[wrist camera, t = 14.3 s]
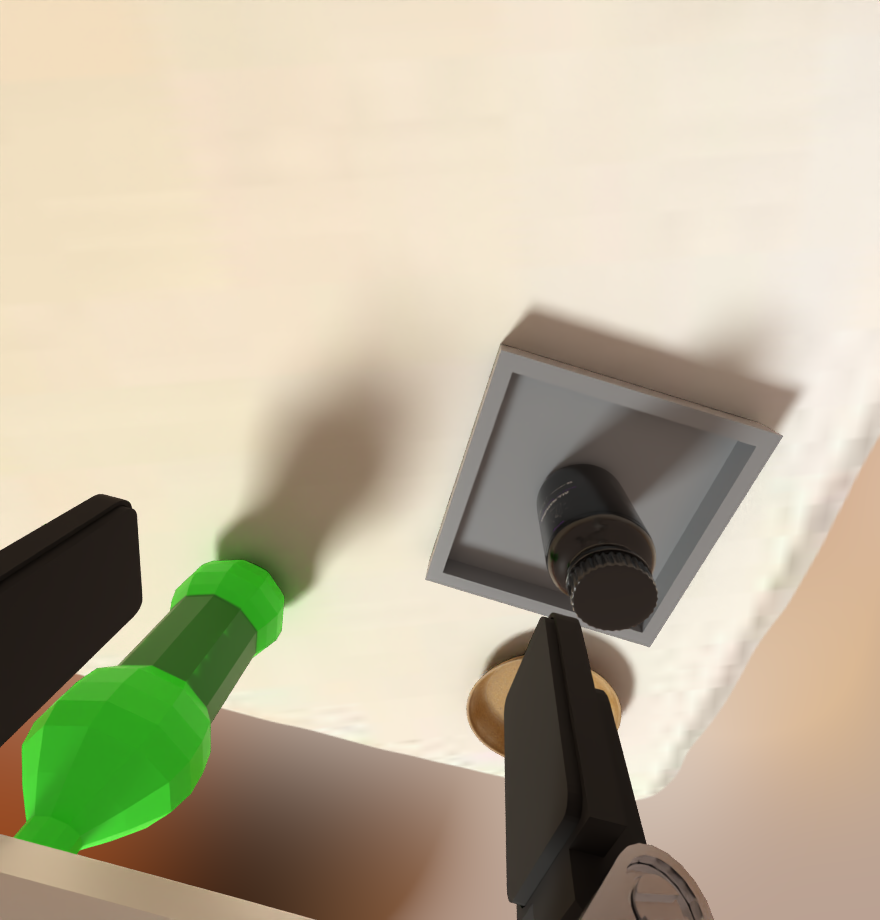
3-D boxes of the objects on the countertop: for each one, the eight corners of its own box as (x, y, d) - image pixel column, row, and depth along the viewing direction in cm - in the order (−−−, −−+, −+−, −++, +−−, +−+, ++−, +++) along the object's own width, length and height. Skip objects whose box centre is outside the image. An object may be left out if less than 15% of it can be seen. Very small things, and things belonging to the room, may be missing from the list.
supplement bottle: (536, 460, 35) (557, 545, 24) (626, 460, 35) (690, 547, 24) (533, 536, 38) (550, 643, 27) (617, 537, 37) (670, 648, 26)
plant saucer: (631, 648, 43) (639, 670, 40) (597, 752, 48) (602, 777, 46) (476, 626, 44) (475, 647, 41) (460, 731, 49) (459, 754, 47)
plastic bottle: (239, 636, 47) (-1, 978, 24) (180, 557, 44) (-161, 863, 21) (319, 611, 45) (137, 965, 22) (263, 525, 42) (-21, 833, 19)
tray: (500, 343, 33) (501, 349, 30) (759, 422, 33) (782, 435, 31) (429, 559, 41) (425, 579, 38) (639, 622, 41) (649, 647, 38)
